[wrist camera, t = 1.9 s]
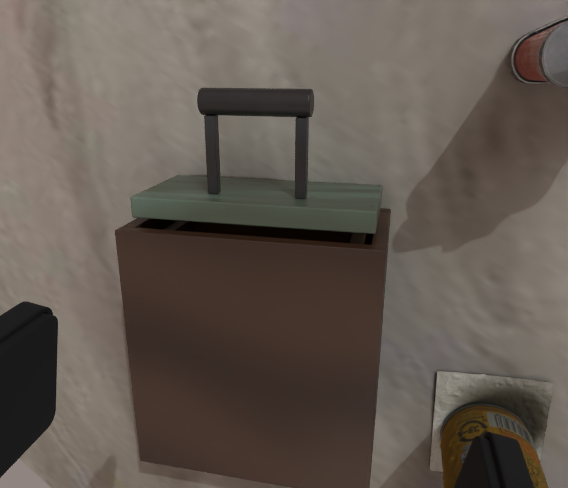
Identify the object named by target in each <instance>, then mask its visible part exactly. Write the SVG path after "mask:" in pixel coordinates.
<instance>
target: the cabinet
mask: <svg viewBox="0 0 568 488" xmlns="http://www.w3.org/2000/svg"><path fill="white" fill-rule="evenodd" d="M390 213H391V210H390V209H380V212H379V218H378V224H377V229H376V233H375V234H367V245H366V244H352V243H338V242H325V241H311V240H298V239H284V238H271V237H257V236H243V235H230V234H216V233H203V232H189V231H175V230H163V229H165V228H166V227H168V226H169V225H171V224H172V223H174V222H176V221H177V220H163V219H148V218H137V219H135V220H133V221H132V222H130V223H128V224H126V225H124V226H123V227H121V228H119V229H117V230H115V236H116V245H117V254H118V263H119V272H120V281H121V291H122V300H123V309H124V318H125V327H126V336H127V345H128V354H129V363H130V372H131V381H132V390H133V400H134V409H135V418H136V427H137V436H138V445H139V454H140V461H145V462H150V463H156V464H162V465H167V466H173V467H179V468H184V469H190V470H196V471H201V472H207V473H213V474H219V475H224V476H230V477H236V478H241V479H247V480H253V481H258V482H264V483H270V484H275V485H281V486H287V487H292V488H369V487H370V475H371V464H372V452H373V440H374V428H375V416H376V403H377V389H378V376H379V362H380V348H381V335H382V321H383V308H384V294H385V281H386V267H387V253H388V240H389V226H390Z"/></svg>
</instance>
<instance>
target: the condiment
mask: <svg viewBox="0 0 568 488" xmlns="http://www.w3.org/2000/svg"><path fill="white" fill-rule="evenodd" d="M553 385H554V383H549V382H540V381H537V380H527V379H516V378H511V377H501V376H490V375H486V374H466V373H459V372H443V371H437V383H436V396H435V408H434V420H433V432H432V445H431V458H430V471H437V472H443V480H444V488H454V485H455V483H456V480H457V478H458V476H459V473H460V471H461V468H462V466H463V463H464V461H465V458H466V456H467V453H468V451H469V448H470V446H471V443H472V441H473V439H474V438H475V436H479V437H483V436H484V434H485V433H486V432H492V433H496V434H499V435H503V436H506V437H510V438H513V439H516V440H518V442H519V444H520V447H521V450H522V453H523V456H524V459H525V462H526V465H527V468H528V471H529V474H530V477H531V480H532V482H533V485H534V488H548V485H547V482H546V479H545V476H544V473H543V470H542V467H541V464H540V460H541V453H542V447H543V441H544V437H545V431H546V427H547V419H548V413H549V407H550V402H551V397H552V391H553Z"/></svg>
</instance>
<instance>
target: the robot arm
mask: <svg viewBox="0 0 568 488" xmlns="http://www.w3.org/2000/svg"><path fill="white" fill-rule="evenodd" d="M57 336H58V320H57V318H56V317H55V316H53V312H52V310H51V309H50V308H48V307H45V306H41V305H37V304H34V303H30V302H22V303H20V304H18V305H17V306H15V307H13V308H12V309H10V310H9V311H7V312H6V313H4V314H2V315H1V316H0V477H1V476H2V475H3V474H4V473H5V472H6V471H7V470H8V469H9V468H10V467H11V466H12V465H13V464H14V463H15V462H16V461H17V459H19V458H20V457H21V455H22V454H23V453H24V452H25V451H26V450H27V449H28V448H29V447H30V446H31V445H32V444H33V443H34V442H35V441H36V440H37V439H38V438H39V437H40V436H41V435H42V434H43V432H44V431H45V430H46V429H47V428H48V427H49V426H50V424H51V423H52V421H53V418H54V415H55V410H56V374H57ZM454 488H534V485H533V482H532V480H531V477H530V474H529V471H528V468H527V465H526V462H525V459H524V456H523V453H522V450H521V447H520V444H519V442H518V440H516V439H513V438H510V437H506V436H503V435H499V434H496V433H492V432H486V433H485V434H484V436H483V437H479V436H475V438H474V439H473V441H472V443H471V446H470V448H469V451H468V453H467V456H466V458H465V461H464V463H463V466H462V468H461V471H460V473H459V476H458V478H457V480H456V483H455V485H454Z"/></svg>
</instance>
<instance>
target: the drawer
mask: <svg viewBox="0 0 568 488" xmlns="http://www.w3.org/2000/svg"><path fill="white" fill-rule="evenodd" d="M197 102H198V109H199V111H200V113H201V114H202V115H205V116H204V119H205V140H206V162H207V177H205V176H185V175H177V176H175V177H173V178H170V179H168V180H166V181H164V182H162V183H160V184H158V185H155V186H153V187H151V188H149V189H147V190H145V191H143V192H140V193H138V194H136V195H134V196H132V197H131V208H132V217H134V218H148V219H163V220H177V221H176V222H174V223H172V224H171V225H169V226H168V227H166V228H165V229H163V230H175V231H189V232H203V233H216V234H230V235H243V236H257V237H271V238H284V239H298V240H311V241H325V242H338V243H352V244H366V245H367V234H375V233H376V229H377V224H378V218H379V212H380V207H381V197H382V186H381V185H367V184H346V183H326V182H308V128H309V118H308V117H312V114H313V110H314V94H313V90H312V89H265V88H201V89H200V90H199V92H198V99H197ZM218 115H231V116H274V117H297V118H296V140H295V181H286V180H266V179H246V178H225V177H220V158H219V132H218Z"/></svg>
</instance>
